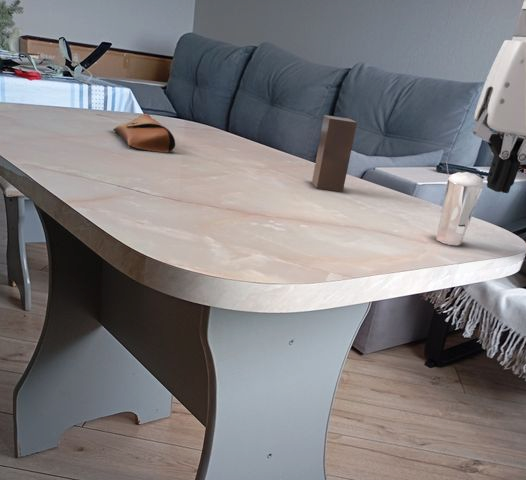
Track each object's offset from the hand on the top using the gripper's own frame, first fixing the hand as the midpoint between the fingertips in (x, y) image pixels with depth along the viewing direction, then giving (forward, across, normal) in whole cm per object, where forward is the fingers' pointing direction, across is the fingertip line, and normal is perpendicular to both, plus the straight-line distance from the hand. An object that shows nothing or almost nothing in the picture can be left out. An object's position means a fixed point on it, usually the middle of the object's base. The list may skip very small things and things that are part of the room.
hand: (497, 189), depth 80 cm
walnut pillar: (+8, +16, -26) cm, 31 cm away
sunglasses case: (+8, +48, -46) cm, 67 cm away
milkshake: (+8, +5, 0) cm, 9 cm away
